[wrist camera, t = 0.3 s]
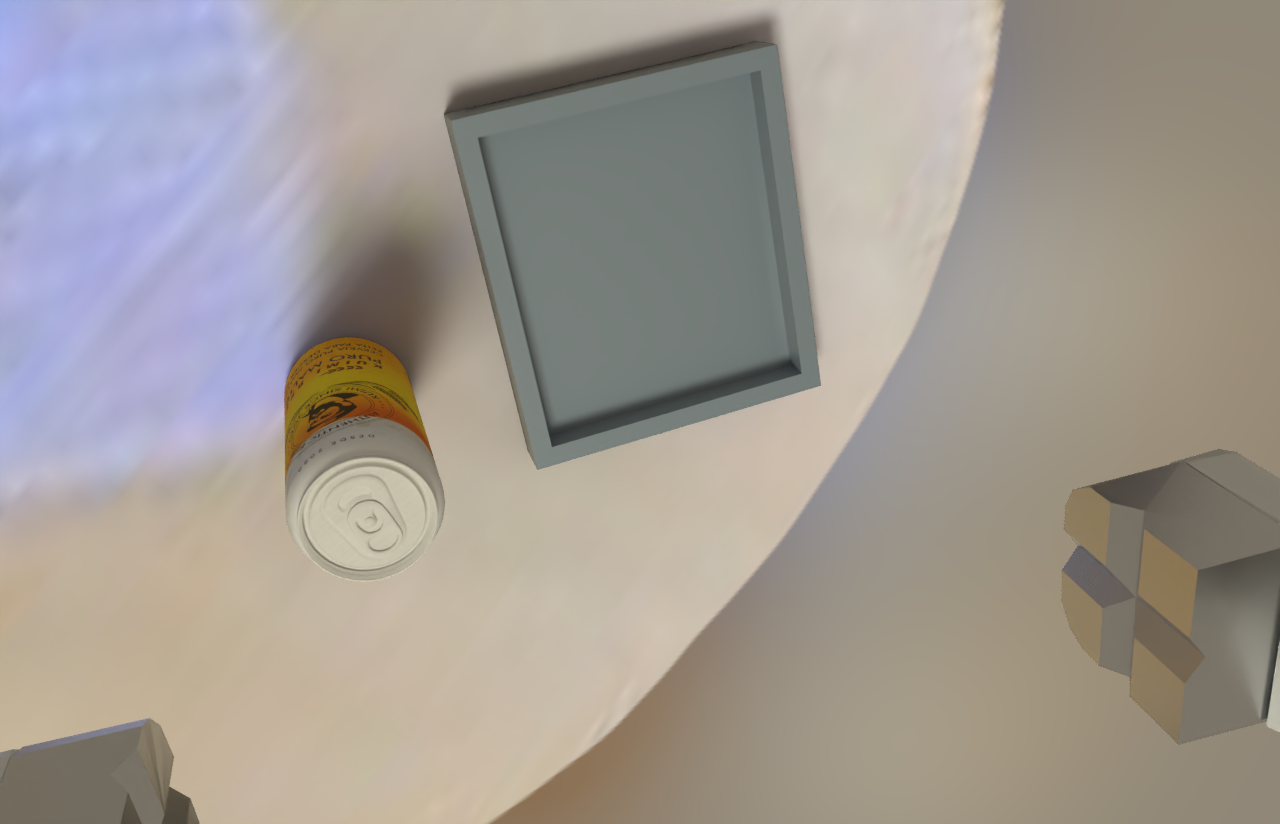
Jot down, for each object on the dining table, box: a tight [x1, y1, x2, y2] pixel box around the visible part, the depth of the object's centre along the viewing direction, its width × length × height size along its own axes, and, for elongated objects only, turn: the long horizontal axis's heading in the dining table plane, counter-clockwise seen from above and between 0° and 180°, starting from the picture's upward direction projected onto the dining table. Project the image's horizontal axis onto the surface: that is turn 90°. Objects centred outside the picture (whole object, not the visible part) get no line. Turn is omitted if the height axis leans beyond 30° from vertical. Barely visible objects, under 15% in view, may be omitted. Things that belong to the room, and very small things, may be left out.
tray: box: [444, 41, 821, 470], centre depth 58 cm, size 18×16×2 cm
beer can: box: [284, 337, 445, 582], centre depth 51 cm, size 6×6×15 cm
